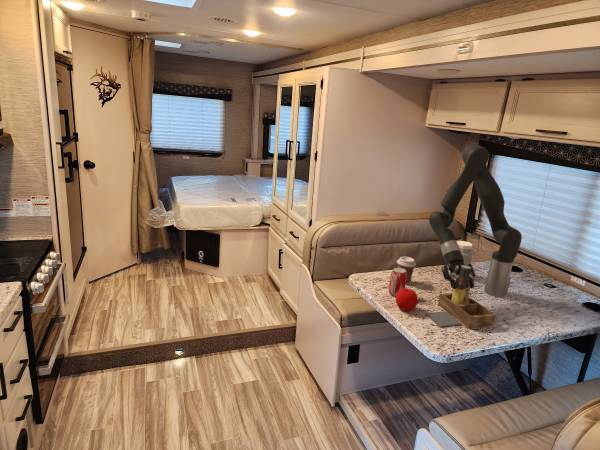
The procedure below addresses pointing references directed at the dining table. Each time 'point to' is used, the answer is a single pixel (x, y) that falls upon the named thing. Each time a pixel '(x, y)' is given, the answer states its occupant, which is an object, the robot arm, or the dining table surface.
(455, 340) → the dining table surface
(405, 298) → the fruit
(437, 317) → the coaster
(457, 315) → the caddy
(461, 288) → the sauce bottle
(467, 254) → the jar
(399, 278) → the soda can
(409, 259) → the coffee cup
